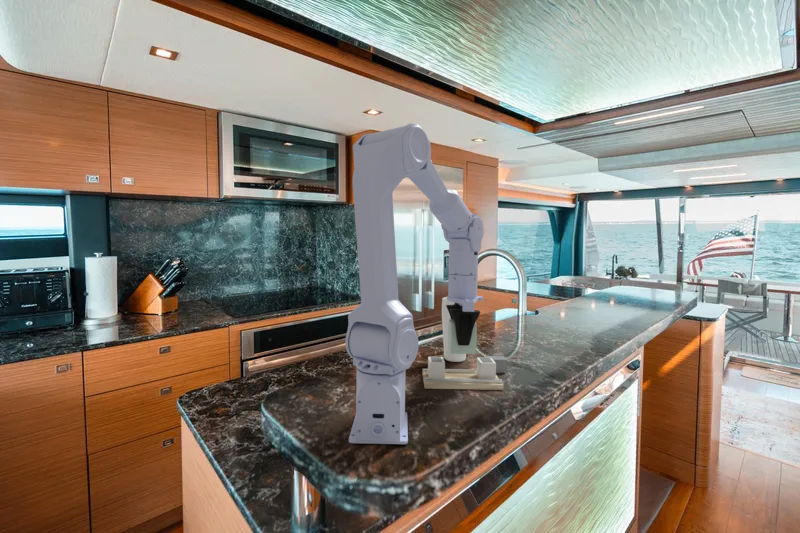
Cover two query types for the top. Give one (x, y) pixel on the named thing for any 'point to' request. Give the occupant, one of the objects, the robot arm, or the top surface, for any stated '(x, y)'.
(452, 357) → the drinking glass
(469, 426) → the top surface
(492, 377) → the mounted modules
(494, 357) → the block
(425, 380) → the din rail
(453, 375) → the rail panel
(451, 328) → the box
